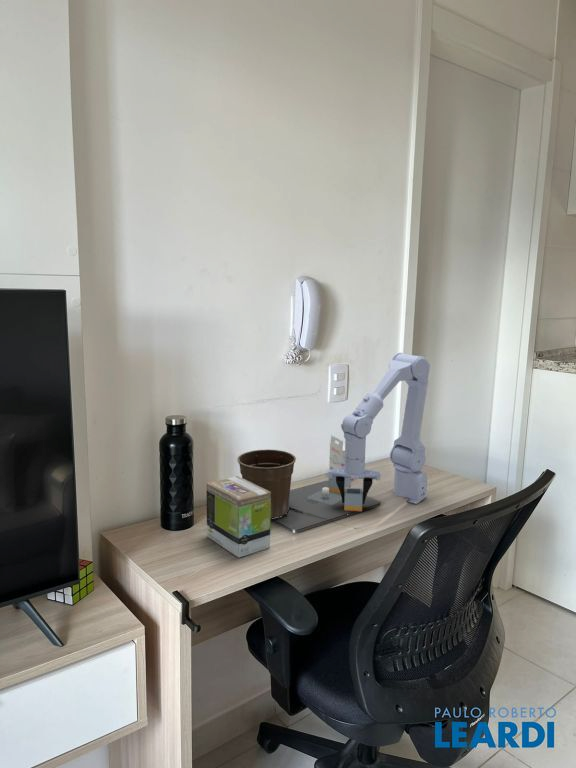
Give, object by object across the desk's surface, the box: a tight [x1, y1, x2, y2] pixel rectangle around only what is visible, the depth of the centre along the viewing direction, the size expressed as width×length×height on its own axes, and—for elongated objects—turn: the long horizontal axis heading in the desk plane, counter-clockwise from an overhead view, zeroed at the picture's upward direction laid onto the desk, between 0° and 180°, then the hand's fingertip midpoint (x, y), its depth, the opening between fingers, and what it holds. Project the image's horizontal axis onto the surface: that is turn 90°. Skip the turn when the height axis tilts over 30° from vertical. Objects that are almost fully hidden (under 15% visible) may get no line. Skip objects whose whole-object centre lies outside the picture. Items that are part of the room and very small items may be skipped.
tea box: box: [206, 475, 271, 558], centre depth 144 cm, size 15×10×15 cm, turn 38°
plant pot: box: [237, 449, 297, 521], centre depth 163 cm, size 16×16×16 cm
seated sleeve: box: [327, 477, 352, 494], centre depth 178 cm, size 5×5×5 cm
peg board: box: [306, 486, 342, 506], centre depth 175 cm, size 9×15×4 cm, turn 144°
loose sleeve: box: [343, 487, 363, 512], centre depth 165 cm, size 5×5×5 cm
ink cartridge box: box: [328, 435, 354, 481], centre depth 190 cm, size 9×5×15 cm, turn 25°
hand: (353, 502), depth 165 cm, fingers closed on loose sleeve, 5 cm apart
